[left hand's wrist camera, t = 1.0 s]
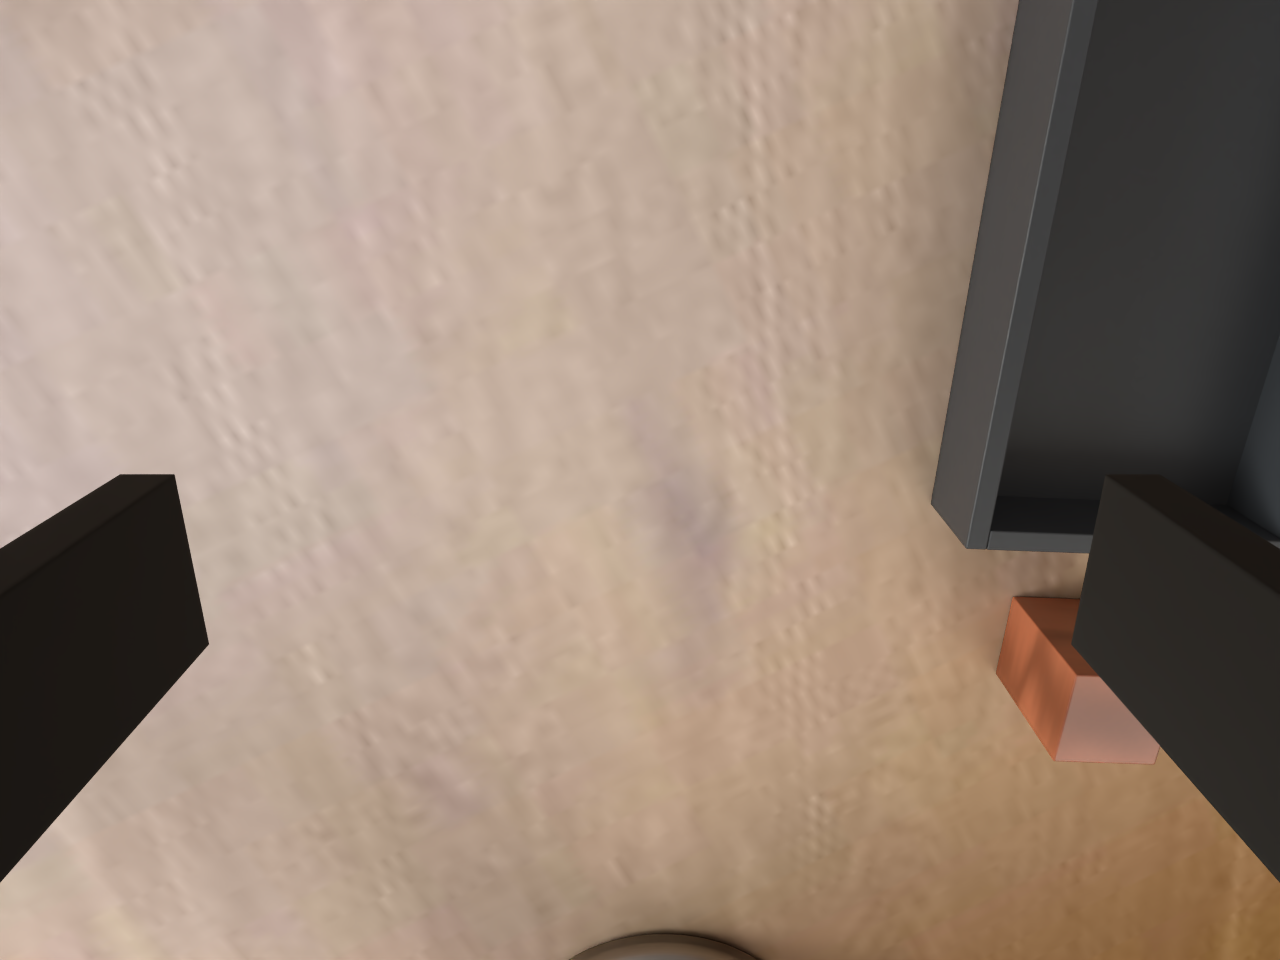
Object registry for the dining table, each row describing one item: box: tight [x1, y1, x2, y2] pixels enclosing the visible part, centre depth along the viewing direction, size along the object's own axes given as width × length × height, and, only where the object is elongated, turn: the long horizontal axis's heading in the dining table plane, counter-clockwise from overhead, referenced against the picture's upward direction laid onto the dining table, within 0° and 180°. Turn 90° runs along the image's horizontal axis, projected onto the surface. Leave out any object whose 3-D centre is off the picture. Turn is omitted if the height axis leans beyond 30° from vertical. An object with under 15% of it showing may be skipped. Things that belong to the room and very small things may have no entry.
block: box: [996, 597, 1160, 764], centre depth 36 cm, size 4×4×6 cm
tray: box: [931, 0, 1280, 553], centre depth 29 cm, size 25×13×7 cm, turn 178°
